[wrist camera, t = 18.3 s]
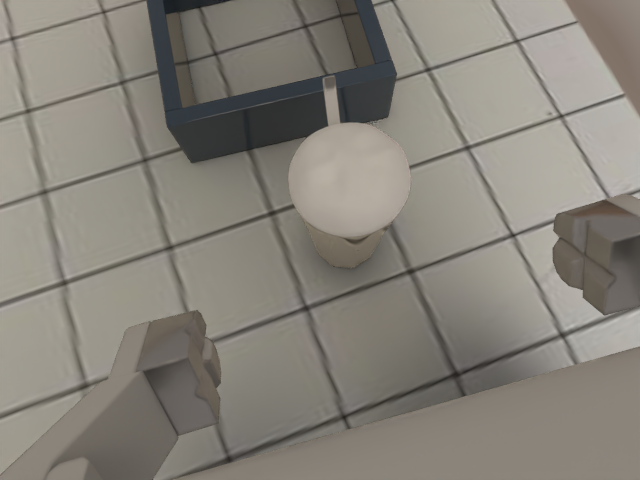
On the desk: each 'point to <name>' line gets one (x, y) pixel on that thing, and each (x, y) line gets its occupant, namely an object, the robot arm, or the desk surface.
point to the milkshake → (348, 185)
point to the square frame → (273, 103)
